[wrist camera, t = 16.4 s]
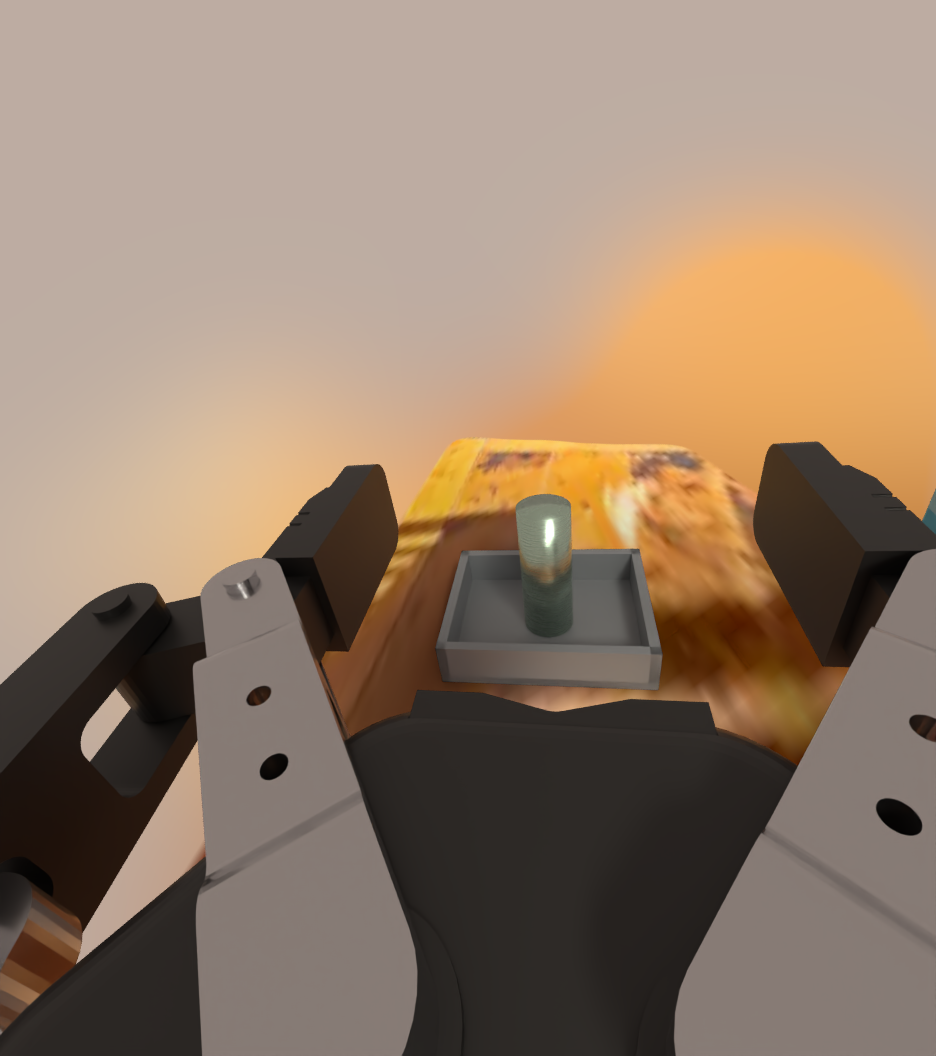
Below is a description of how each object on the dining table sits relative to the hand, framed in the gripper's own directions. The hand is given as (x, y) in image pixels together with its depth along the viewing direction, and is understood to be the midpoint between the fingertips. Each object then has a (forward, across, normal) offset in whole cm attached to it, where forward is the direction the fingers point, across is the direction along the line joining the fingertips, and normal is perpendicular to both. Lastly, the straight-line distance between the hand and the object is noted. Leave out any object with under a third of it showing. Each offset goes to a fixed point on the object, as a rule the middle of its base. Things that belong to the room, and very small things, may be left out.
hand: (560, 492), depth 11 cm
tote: (+25, +2, +29) cm, 38 cm away
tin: (+25, +2, +28) cm, 37 cm away
